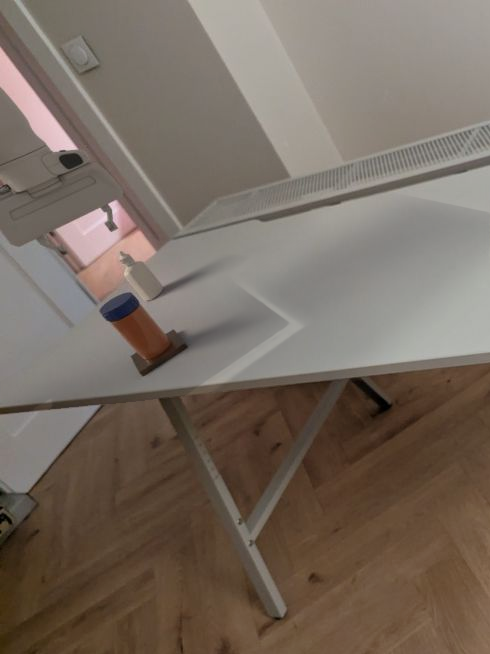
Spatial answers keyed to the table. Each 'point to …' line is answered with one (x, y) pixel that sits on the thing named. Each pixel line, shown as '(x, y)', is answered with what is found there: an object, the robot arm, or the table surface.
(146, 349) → the jar
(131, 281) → the eye dropper bottle
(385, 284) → the table surface
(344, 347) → the table surface
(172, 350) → the board
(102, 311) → the lid
